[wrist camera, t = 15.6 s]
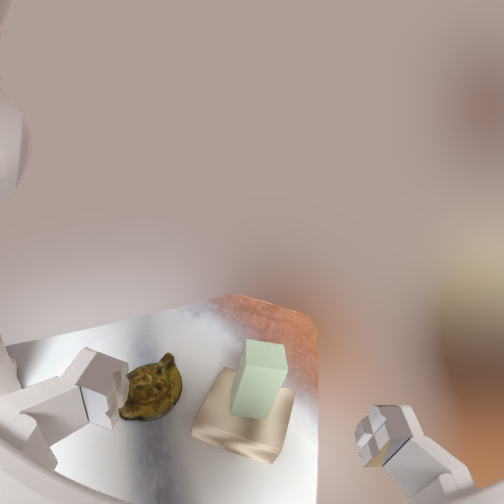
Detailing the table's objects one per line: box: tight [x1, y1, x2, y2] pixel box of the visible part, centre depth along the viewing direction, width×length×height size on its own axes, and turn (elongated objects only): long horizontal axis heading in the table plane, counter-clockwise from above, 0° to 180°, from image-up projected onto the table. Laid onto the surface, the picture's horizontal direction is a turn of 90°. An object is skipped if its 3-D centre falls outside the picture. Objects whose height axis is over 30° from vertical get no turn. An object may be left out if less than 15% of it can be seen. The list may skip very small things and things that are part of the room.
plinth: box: [191, 367, 296, 464], centre depth 39 cm, size 12×12×5 cm
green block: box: [230, 339, 288, 420], centre depth 36 cm, size 5×5×10 cm
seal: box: [118, 353, 182, 421], centre depth 40 cm, size 9×5×15 cm
